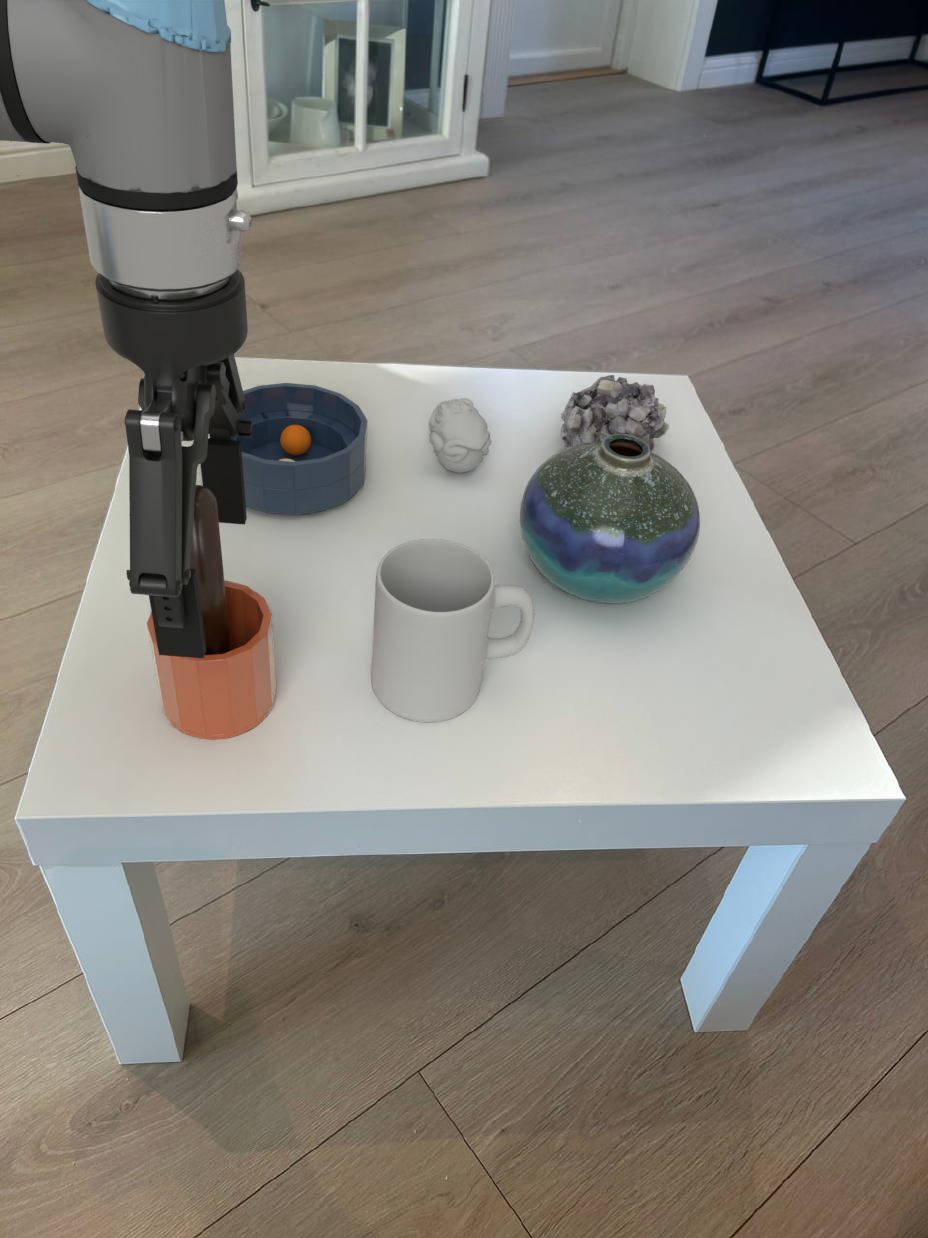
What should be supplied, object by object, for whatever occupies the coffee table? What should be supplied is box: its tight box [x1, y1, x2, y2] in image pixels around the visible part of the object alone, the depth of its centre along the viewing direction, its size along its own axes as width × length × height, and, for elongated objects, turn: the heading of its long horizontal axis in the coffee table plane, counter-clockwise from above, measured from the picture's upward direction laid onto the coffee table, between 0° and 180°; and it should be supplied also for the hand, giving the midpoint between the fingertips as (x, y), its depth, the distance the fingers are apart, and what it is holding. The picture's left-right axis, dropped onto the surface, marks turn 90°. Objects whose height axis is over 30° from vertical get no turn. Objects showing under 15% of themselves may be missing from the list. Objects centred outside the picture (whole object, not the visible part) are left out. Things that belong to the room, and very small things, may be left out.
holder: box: [146, 579, 277, 740], centre depth 69 cm, size 8×8×8 cm
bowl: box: [235, 382, 369, 516], centre depth 92 cm, size 14×14×6 cm
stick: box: [190, 484, 231, 655], centre depth 65 cm, size 2×2×18 cm
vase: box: [519, 434, 701, 604], centre depth 83 cm, size 15×15×13 cm
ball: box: [280, 425, 311, 456], centre depth 95 cm, size 3×3×3 cm
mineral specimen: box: [559, 374, 670, 452], centre depth 100 cm, size 12×9×10 cm
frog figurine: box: [428, 397, 492, 474], centre depth 95 cm, size 6×7×7 cm
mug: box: [370, 538, 535, 723], centre depth 72 cm, size 12×8×11 cm
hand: (206, 581), depth 64 cm, fingers open, 13 cm apart
